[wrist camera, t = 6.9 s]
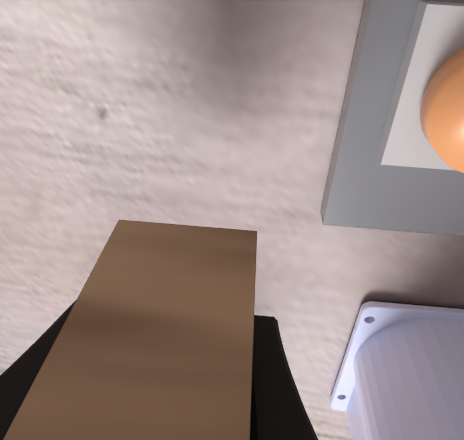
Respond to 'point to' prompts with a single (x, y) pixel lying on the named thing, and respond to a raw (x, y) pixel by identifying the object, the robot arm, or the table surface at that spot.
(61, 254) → the table surface
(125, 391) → the block
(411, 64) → the loading station
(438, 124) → the button
